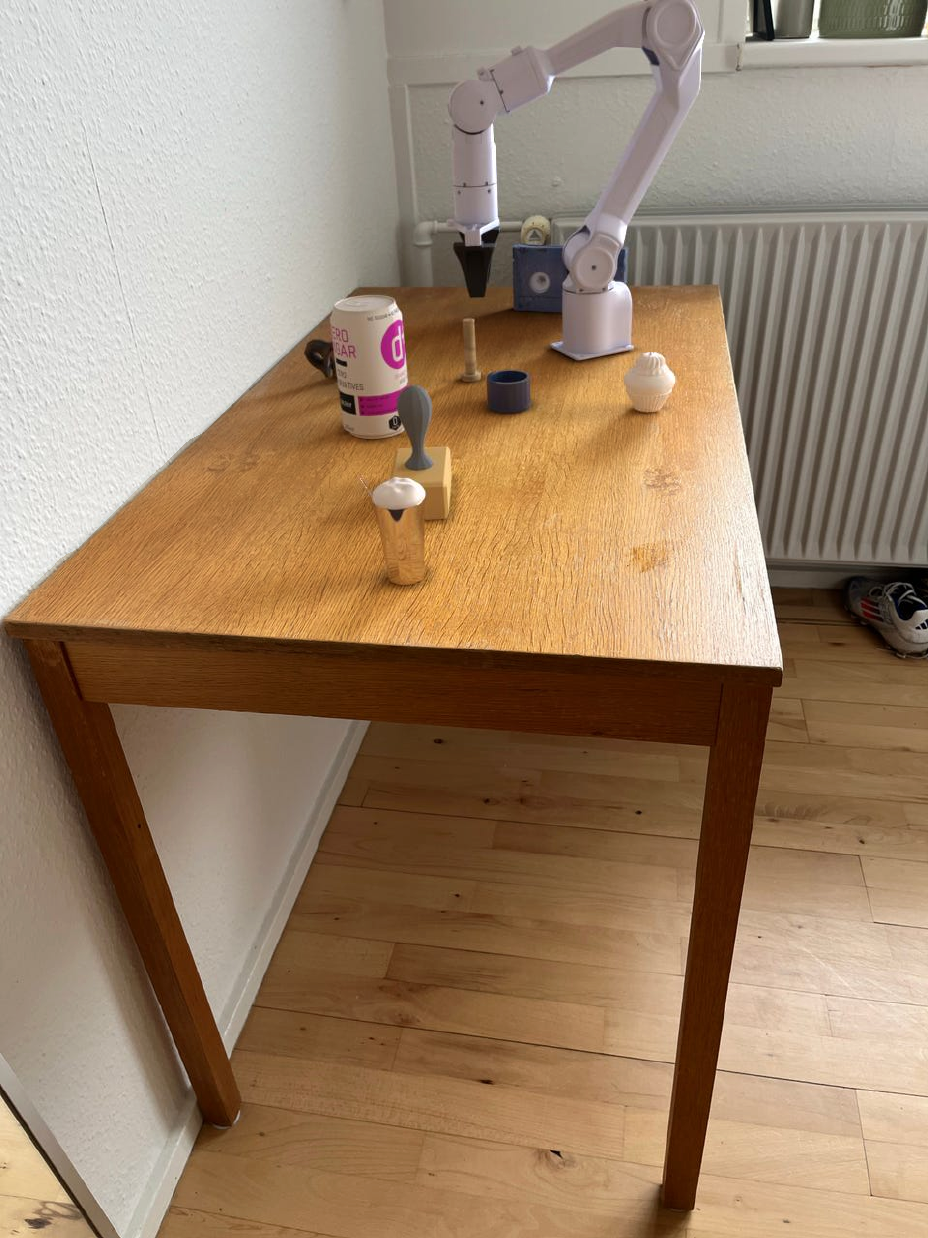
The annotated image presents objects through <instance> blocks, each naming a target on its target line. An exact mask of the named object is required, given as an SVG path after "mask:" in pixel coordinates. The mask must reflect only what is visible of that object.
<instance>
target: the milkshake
mask: <svg viewBox="0 0 928 1238" xmlns="http://www.w3.org/2000/svg"><path fill="white" fill-rule="evenodd" d="M359 479H360V481H361V483H362V484H363V486H364V488H365V489H366V490H367V492H368V494H369V496H370V497H371V500H372V504H373V509H374V513H375V518H376V522H377V527H378V532H379V537H380V538H379V539H380V543H381V548H382V554H383V559H384V564H385V569H386V573H387V578H388V579H389V581H390V583H392V584H395V585H399V586H408V585H414V584H417V583H418V582H421V581H422V580H423V579H424V577H425V574H426V560H425V559H426V552H425V551H426V550H425V549H426V547H425V545H426V544H425V542H426V541H425V540H426V535H425V531H426V529H425V527H426V525H425V523H426V520H425V491H424V489H423V487H422V486H421V485H420V484H418V483H416V482H414V481H413V480H411V479H409V478H398V477H394V478H392V479H390V478H389V479H388V480H386V481H385V482H381V483H380V484H378V485H377V486H376V488H374V490H373V492H372V493H371V490H370V488H369V487H368V486H367V484H366V482H365V481H364V479H363V478H362V476H361V475H359Z"/></svg>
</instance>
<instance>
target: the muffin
mask: <svg viewBox="0 0 928 1238" xmlns="http://www.w3.org/2000/svg"><path fill="white" fill-rule="evenodd" d="M675 383H676V378H675V374H674V372H672V371H671V370H670V369H669V367H668V365H667V364H666V358H665V357H664V356H663V355H662V354H661V353H658V352H655V351H654V352H652V351H650V352H644V353H640V354H639V355H638V356H637V357H636V358H635V363H634V364H633V366H632V367H631V369H629V370H628V371H627V372H625V374H624V377H623V384H624V387H625V392H626V393H627V396H628V398H629V400H630V402H631V405H632V406H633V408H634V410H636V411H638V412H640V413H647V414H648V413H655V412H659V411H661V409H662V408H663V407H664V404H665V403H666V401H667V400H668V399H669V397H670V395H671V393H673V392H672V390H673V388H674V386H675Z"/></svg>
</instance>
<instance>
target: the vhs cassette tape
mask: <svg viewBox="0 0 928 1238" xmlns="http://www.w3.org/2000/svg"><path fill="white" fill-rule="evenodd" d="M563 247H564V244H531V243H529V244H527V243H516V244H515V245H513V246H512V259H513V262H512V287H513V288H512V294H513V302H512V303H513V310H514V311H518V312H519V311H522V312H526V311H527V312H541V313H542V312H543V313H545V312H546V313H562V299H563V282H564V281H565V280H566V278H567V276H568V274H569V272H570V271H569V270H568V269H567V268H566V266H565V265H564V262H563V258H562V252H563ZM628 253H629V247H628V246H622V248H621V250H620V252H619V255H618V258H617V269H616V273H615V276H614V278H613V281H615V282H622V283H624V284H625V285H626V286H627V285H628ZM627 287H628V286H627Z"/></svg>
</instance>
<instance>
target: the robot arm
mask: <svg viewBox="0 0 928 1238" xmlns="http://www.w3.org/2000/svg"><path fill="white" fill-rule="evenodd" d="M704 36H705V28H704V25H703V22H702V19H701V16H700V13H699V10H698V7H697V5H696V4H695V2H694V1H693V0H639V1H634V2H632V3H629V4H626V5H624V6H621V7H619V8H616V9H614V10H612V11H609V12H608V13H606V14H605V15H603V16H601V17H600V18H598V19H595V20H594V21H592V22H591V23H589V24H587V25H586V26H584V27H582V28H581V29H579V30H577V31H575V32H574V33H572V34H570V35H569V36H567V37H566V38H564V39H561V40H560V41H559V42H557V43H555V44H553V45H551V46H550V47H548V48H547V49H542V48H539V47H537V46H534V45H531V44H529V45H528V46H526V47H522V45H521V44H517V45H516V46H514V47H513V48H510V52H511V55H509V56H507V57H506V58H504V59H502V60H500V61H498V62H496V63H493V64H492V65H491V66H488V67H487V68H485V66H480V67H478V68H476V70H475V72H476V74H477V77H478V79H477V78H466V79H463V80H461V81H459V82H458V83H457V84H456V85H455V86H454V87H453V88H452V90H451V92H450V94H449V98H448V104H447V109H448V115H449V116H450V119H451V120H452V121H453V124H452V128H451V131H450V133H451V134H450V135H451V141H452V144H451V167H452V185H453V187H452V188H453V204H454V218H449V219H446V227H447V228H455V229H457V230H458V231H459V233H458V234H459V237H460V238H461V240H462V241H455V242H453V244H452V249H453V252H454V253H455V256H456V257H457V260H458V261H459V264H460V267H461V270H462V272H463V277H464V282H465V285H466V290H467V293H468V296H469V298H471V299H474V298H476V299H477V298H485V297H486V294H487V288H488V284H489V282H490V278H491V277H490V276H491V271H492V264H493V263H492V261H493V256H494V255H493V254H494V252H495V249H496V247H497V243H496V241H497V239H498V236H499V234H500V231H501V227H500V218H499V217H498V216H499V215H498V214H499V212H498V211H499V210H498V184H497V182H498V181H497V153H496V152H497V151H496V148H497V147H496V143H495V142H494V122H495V120H496V117H497V116H502V117H505V116H507V115H509V114H511V113H513V112H514V111H516V110H519V109H520V108H522V107H525V106H526V105H528V104H530V103H532V102H534V101H535V100H537V99H539V98H541V97H543V96H545V95H547V94H548V93H549V92H550V90H551V87H552V85H553V81H554V79H555V78H556V76H558V75H561V74H563V73H565V72H566V71H569V70H571V69H573V68H575V67H577V66H579V65H581V64H583V63H585V62H587V61H589V60H591V59H593V58H595V57H597V56H599V55H601V54H603V53H605V52H607V51H609V50H611V49H614V48H629V49H630V48H632V49H640V50H641V51H642V53H643V54H644V55H645V57H646V59H647V60H648V62H649V65H650V70H651V74H652V77H653V80H654V84H655V91H654V92H653V94H652V97H651V98H650V100H649V102H648V104H647V106H646V108H645V109H644V112H643V114H642V116H641V118H640V120H639V122H638V123H637V125H636V128H635V129H634V131H633V133H632V135H631V137H630V139H629V141H628V143H627V145H626V147H625V148H624V151H623V153H622V155H620V156H621V157H620V159H619V160H618V162H617V164H616V166H615V168H614V169H613V171H612V174H611V176H610V178H609V180H608V181H607V184H606V185H605V187H604V189H603V191H602V193H601V195H600V197H599V199H598V201H597V203H596V205H595V207H594V208H593V209H592V210H591V211H590V212H589V213H588V214H587V215H586V217H585V218H584V220H583V222H582V223H581V226H579V228H578V229H577V230H576V231H575V232H574V233H572V234H571V235H570V236H569V237H568V238H567V239H566V241H565V242H564V244H563V245H564V247H563V252H562V258H563V262H564V265H565V266H566V268H567V269H568V270H569V271H570V272H569V274H568V276H567V278H566V280H565V281H564V282H563V299H562V312H561V314H562V315H561V316H562V318H561V319H562V322H561V324H562V325H561V326H562V329H561V334H562V335H561V341H558V342H552V343H550V348H552V349H553V350H556V351H557V352H560V354H561V353H562V354H564V355H565V356H567V357H570V358H571V359H573V360H575V361H583V360H588V359H593V358H598V357H603V356H608V355H612V354H617V353H622V352H623V353H624V352H627V351H632V350H634V347H635V346H634V345H633V344H632V326H633V325H632V323H633V298H632V294H631V291H630V289H629V287H628V286H626V285H625V284H624V283H622V282H615V281H613V278H614V276H615V273H616V269H617V258H618V255H619V252H620V250H621V248H622V247H624V244H625V239H626V234H627V229H628V225H629V224H630V222H631V220H632V218H633V216H634V214H635V213H636V211H637V209H638V207H639V205H640V204H641V202H642V200H643V198H644V197H645V194H646V192H647V191H648V188H649V187H650V185H651V183H652V181H653V179H654V177H655V175H656V173H657V172H658V170H659V168H660V166H661V164H662V162H663V160H664V158H665V157H666V156H667V153H668V151H669V150H670V148H671V146H672V143H673V141H675V138H676V136H677V134H678V133H679V131H680V129H681V127H682V125H683V123H684V122H685V120H686V118H687V116H688V114H689V112H690V110H691V109H692V107H693V105H694V103H695V100H696V99H697V97H698V95H699V92H700V90H701V76H702V75H701V72H702V70H701V69H702V46H703V45H702V44H703V40H704Z"/></svg>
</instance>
